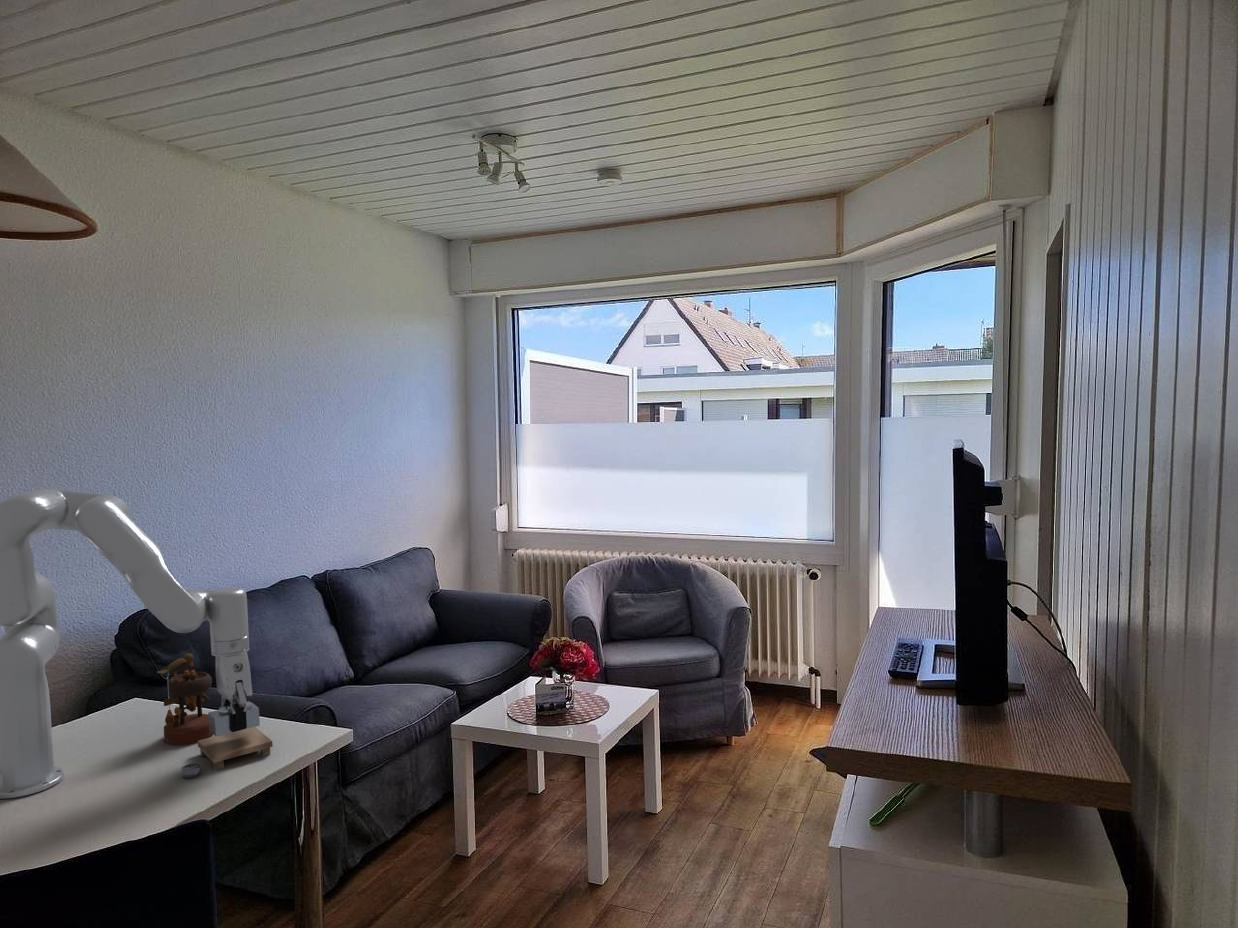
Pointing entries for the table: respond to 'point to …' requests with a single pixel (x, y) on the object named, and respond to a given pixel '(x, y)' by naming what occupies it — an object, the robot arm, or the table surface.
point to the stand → (234, 745)
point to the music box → (185, 685)
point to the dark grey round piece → (191, 771)
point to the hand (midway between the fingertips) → (234, 725)
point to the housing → (221, 719)
